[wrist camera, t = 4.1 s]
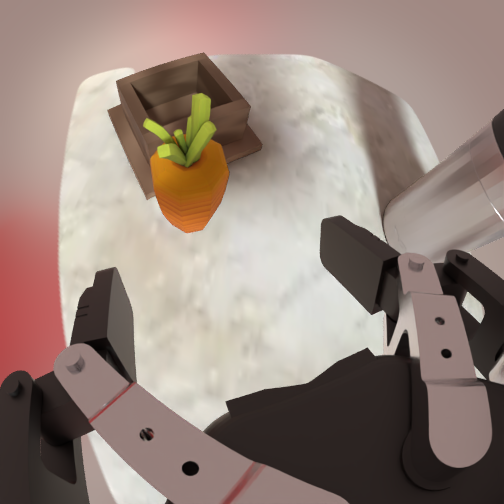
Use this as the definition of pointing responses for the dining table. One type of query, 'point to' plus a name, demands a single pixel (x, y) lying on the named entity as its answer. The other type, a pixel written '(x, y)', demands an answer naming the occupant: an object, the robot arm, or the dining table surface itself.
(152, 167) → the carrot
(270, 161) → the dining table surface
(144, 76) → the socket block
